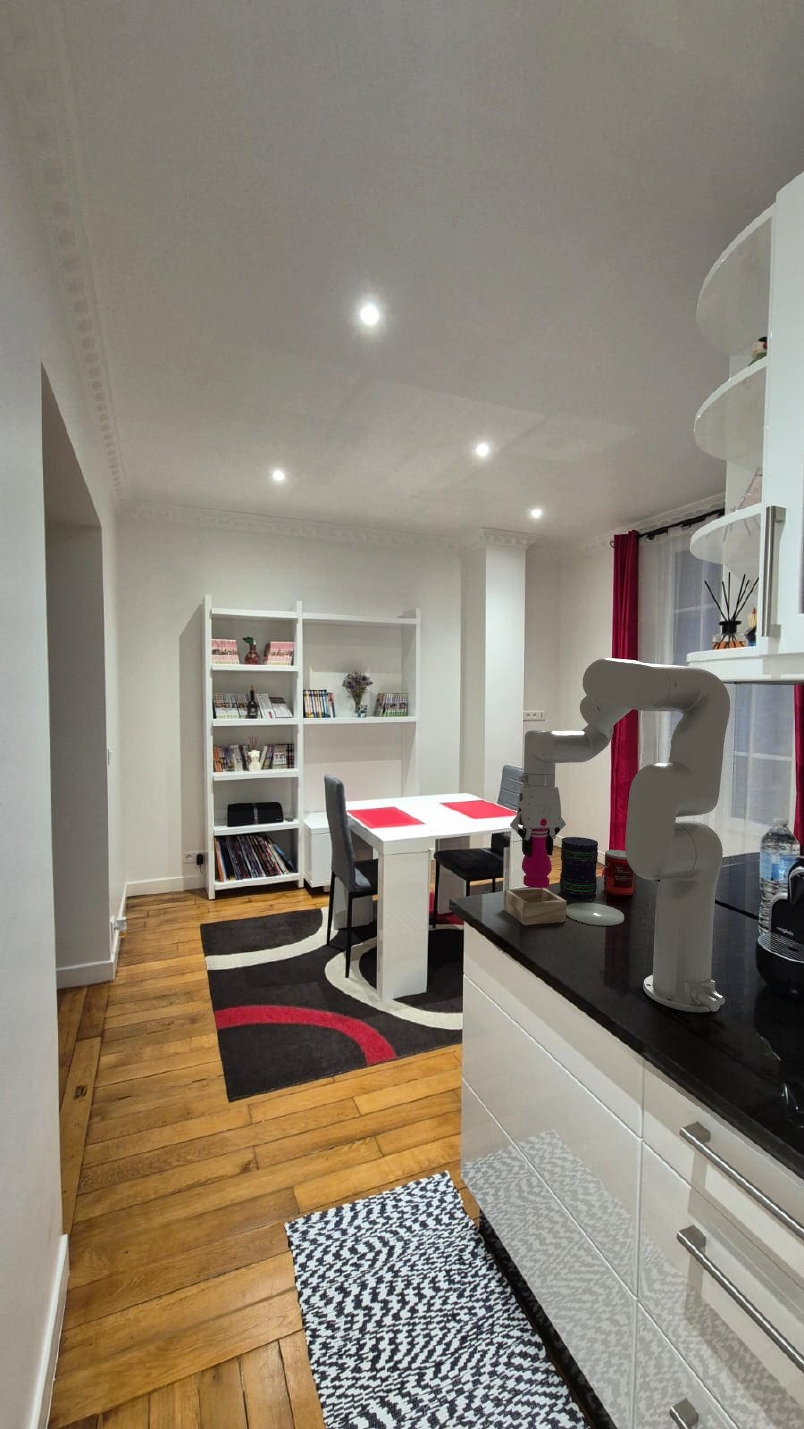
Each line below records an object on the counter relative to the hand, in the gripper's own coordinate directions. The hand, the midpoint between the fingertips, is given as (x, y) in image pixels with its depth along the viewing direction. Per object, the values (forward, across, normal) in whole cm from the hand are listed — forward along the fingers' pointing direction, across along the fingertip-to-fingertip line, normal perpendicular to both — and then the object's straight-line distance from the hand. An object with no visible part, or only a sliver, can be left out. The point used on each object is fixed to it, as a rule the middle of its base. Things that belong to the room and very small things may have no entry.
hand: (537, 854), depth 148 cm
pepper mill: (+8, 0, 0) cm, 8 cm away
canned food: (+15, +33, +13) cm, 39 cm away
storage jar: (+15, +20, +13) cm, 28 cm away
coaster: (+15, +15, -2) cm, 22 cm away
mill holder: (+15, 0, +1) cm, 15 cm away
